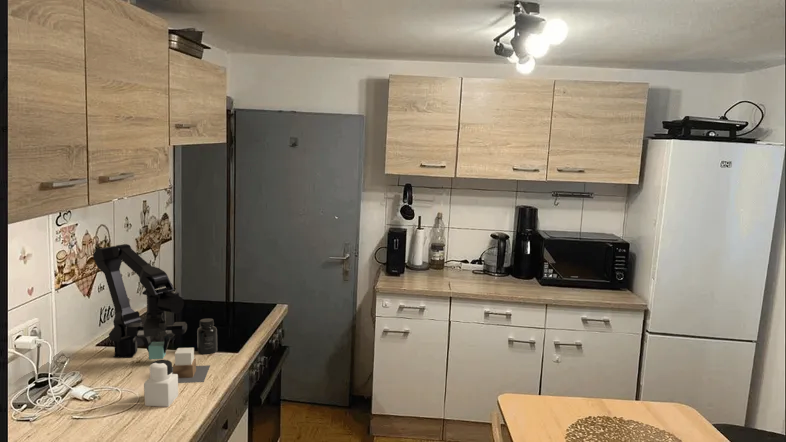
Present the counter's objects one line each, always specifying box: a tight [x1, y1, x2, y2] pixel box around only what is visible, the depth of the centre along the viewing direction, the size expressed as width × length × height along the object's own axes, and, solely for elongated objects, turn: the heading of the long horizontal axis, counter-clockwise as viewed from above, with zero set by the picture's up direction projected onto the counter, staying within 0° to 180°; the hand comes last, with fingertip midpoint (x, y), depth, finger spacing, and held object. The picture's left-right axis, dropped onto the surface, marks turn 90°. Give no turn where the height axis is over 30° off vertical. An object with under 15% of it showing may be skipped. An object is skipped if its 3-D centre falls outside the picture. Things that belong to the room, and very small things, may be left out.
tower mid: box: [174, 347, 195, 366], centre depth 188 cm, size 5×5×4 cm
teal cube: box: [148, 341, 167, 360], centre depth 197 cm, size 4×4×4 cm
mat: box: [172, 365, 211, 384], centre depth 188 cm, size 14×14×1 cm
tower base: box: [172, 358, 197, 378], centre depth 188 cm, size 6×6×4 cm
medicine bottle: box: [143, 359, 179, 408], centre depth 169 cm, size 7×7×12 cm
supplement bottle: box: [196, 318, 218, 356], centre depth 209 cm, size 7×7×12 cm
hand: (157, 353), depth 197 cm, fingers closed on teal cube, 4 cm apart
